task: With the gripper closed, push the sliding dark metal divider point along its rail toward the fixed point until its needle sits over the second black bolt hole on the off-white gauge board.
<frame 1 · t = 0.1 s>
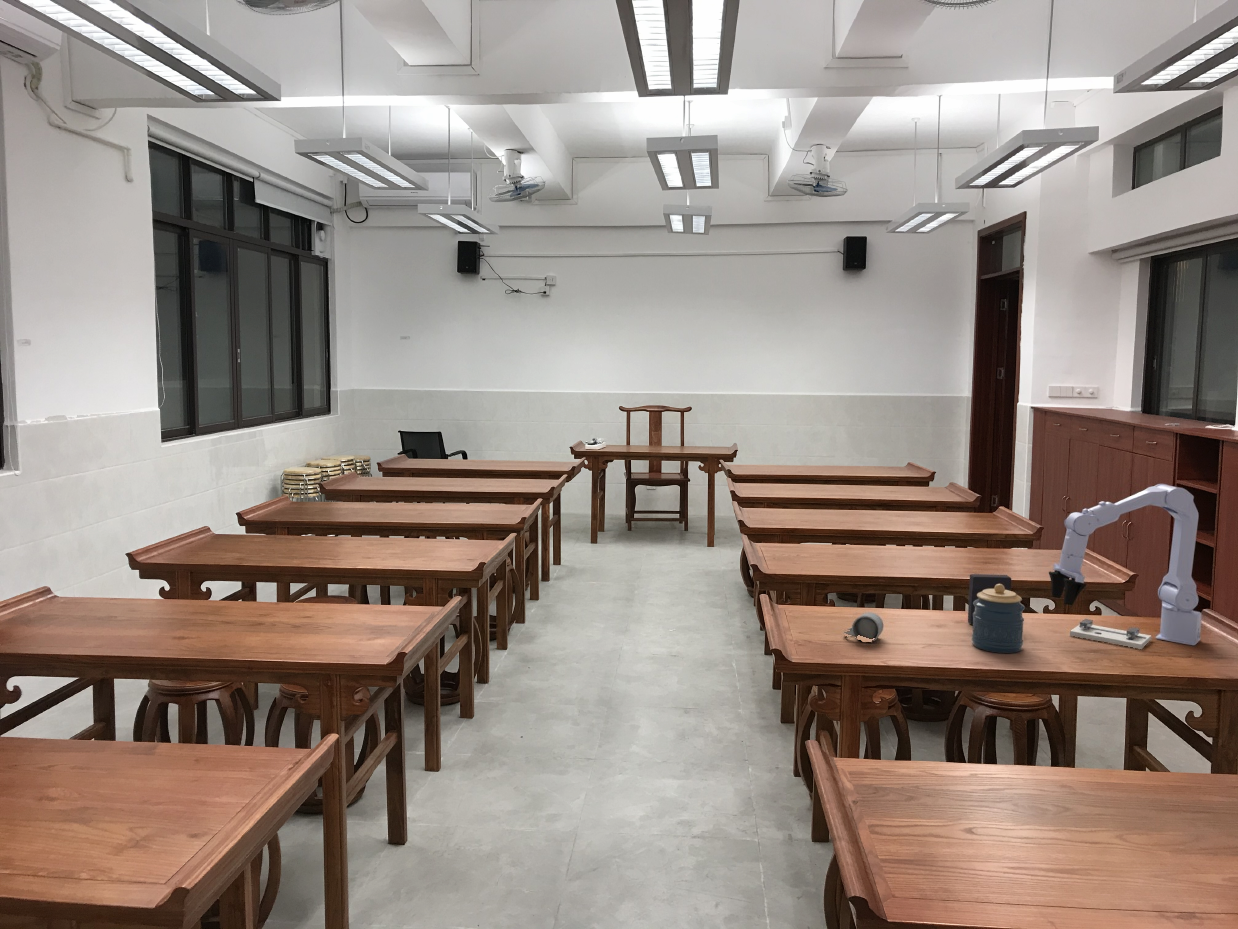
hand: (1061, 600, 249), 10 cm above the table, tool pointing down, fingers open, 7 cm apart
canister: (996, 647, 241), on the table
gauge board: (1110, 638, 249), on the table
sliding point: (1085, 624, 253), point 3 cm above the table, slide at 4.0 cm
ceramic mug: (863, 639, 248), on the table
fixed point: (1132, 642, 245), resting on gauge board
calculator: (987, 625, 262), on the table
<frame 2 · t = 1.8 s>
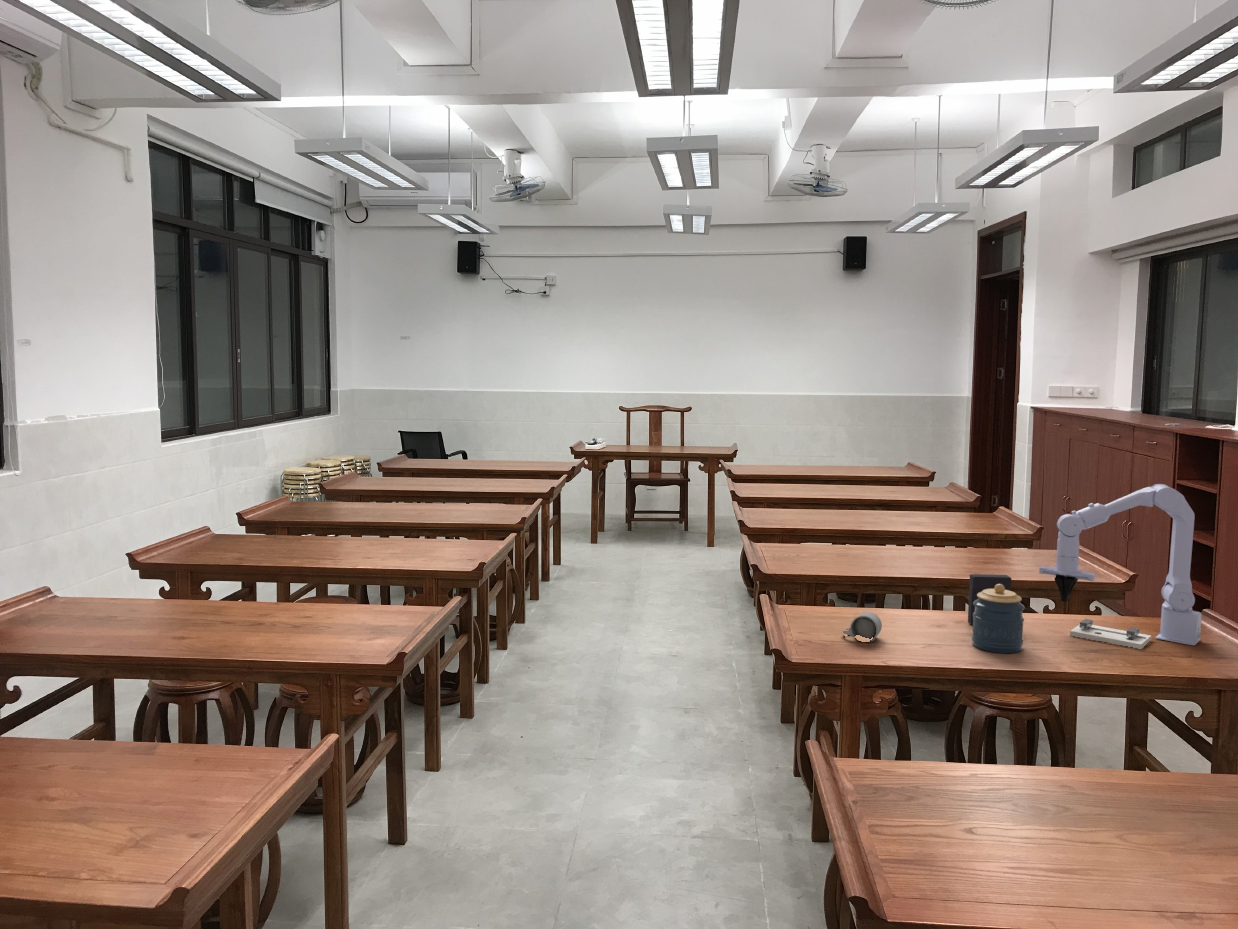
hand: (1065, 601, 257), 8 cm above the table, tool pointing down, fingers closed
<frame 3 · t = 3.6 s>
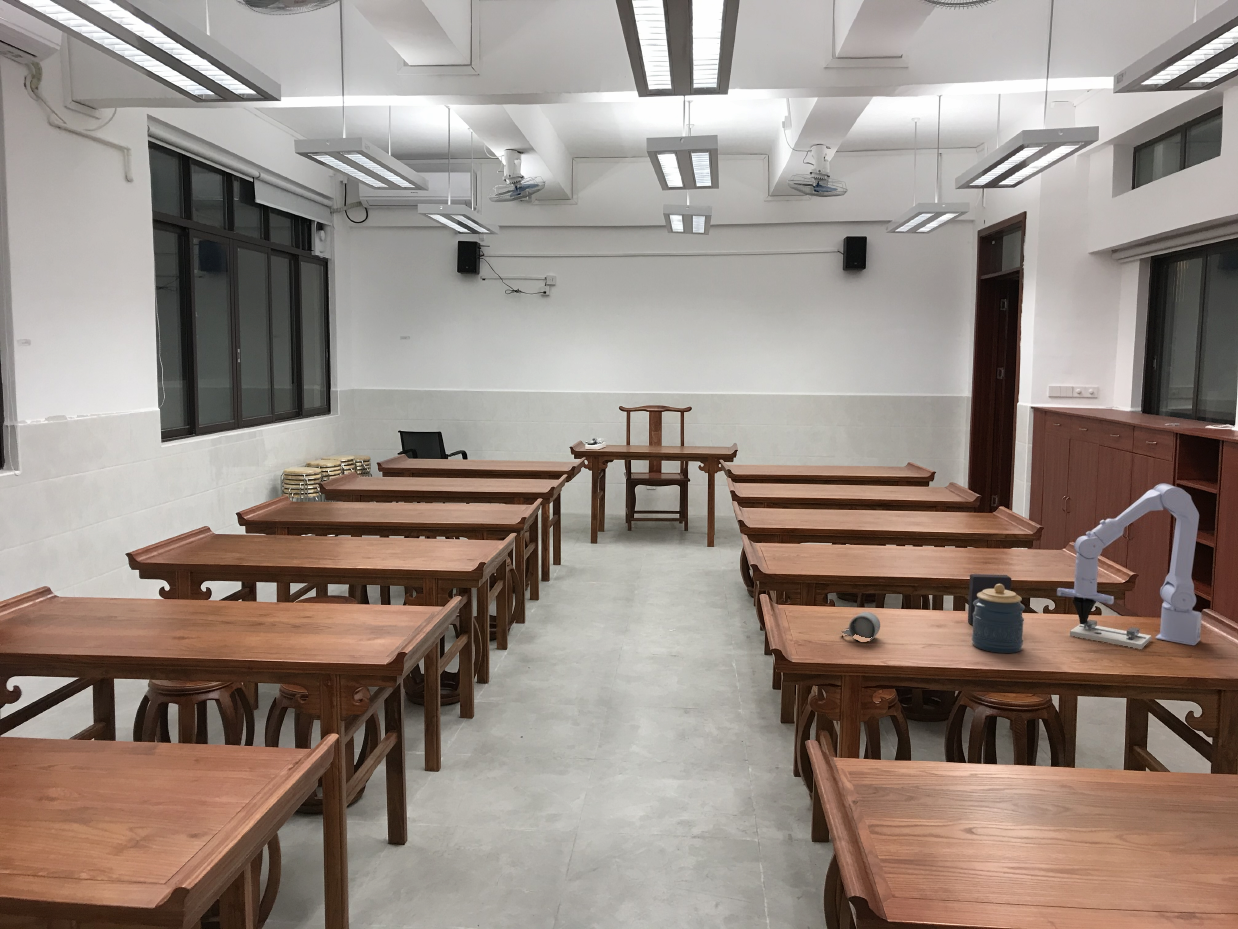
hand: (1083, 623, 254), 3 cm above the table, tool pointing down, fingers closed
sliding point: (1090, 625, 252), point 3 cm above the table, slide at 2.9 cm, touching gripper
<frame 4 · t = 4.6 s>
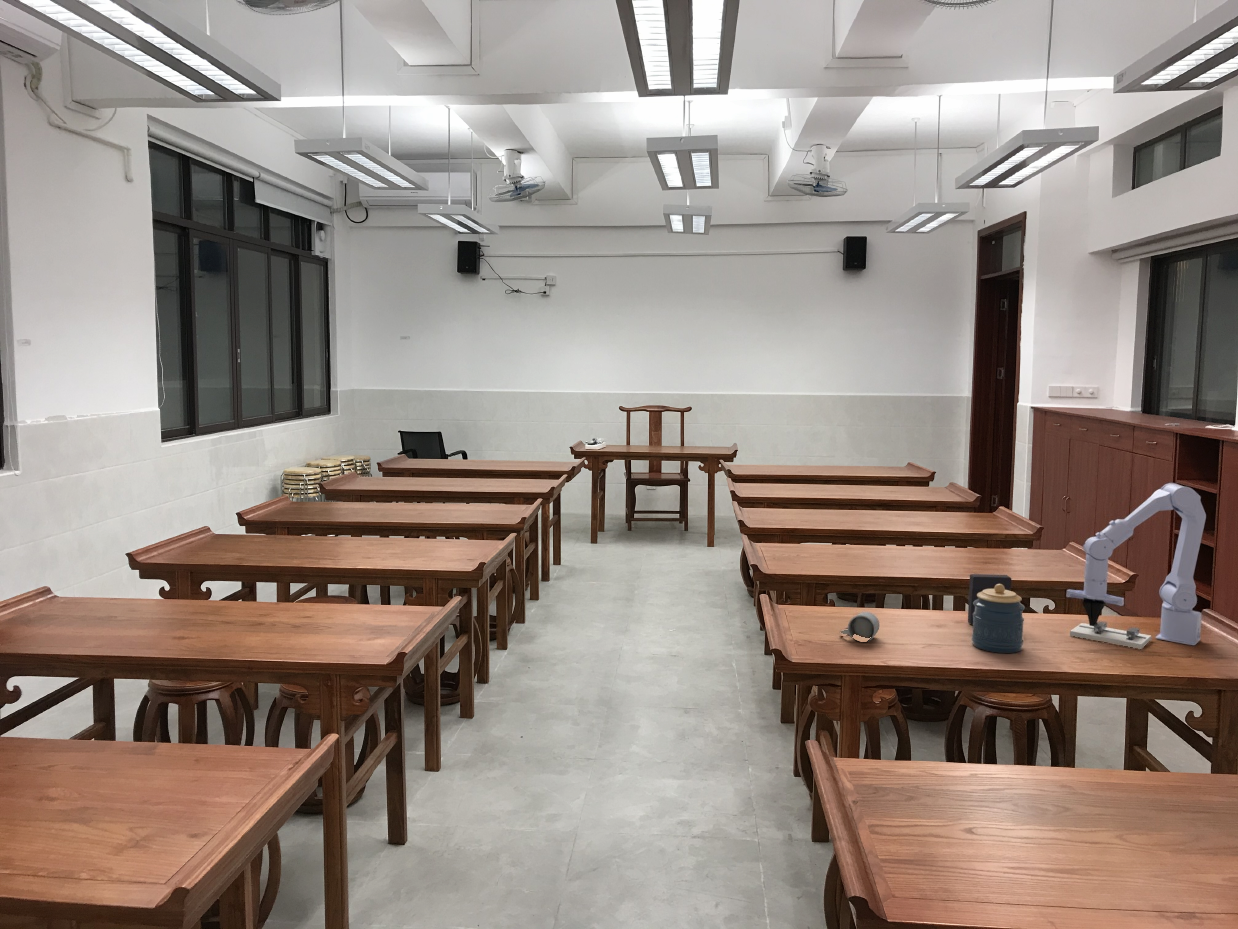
hand: (1092, 625, 252), 3 cm above the table, tool pointing down, fingers closed
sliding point: (1099, 626, 250), point 3 cm above the table, slide at 0.3 cm, touching gripper
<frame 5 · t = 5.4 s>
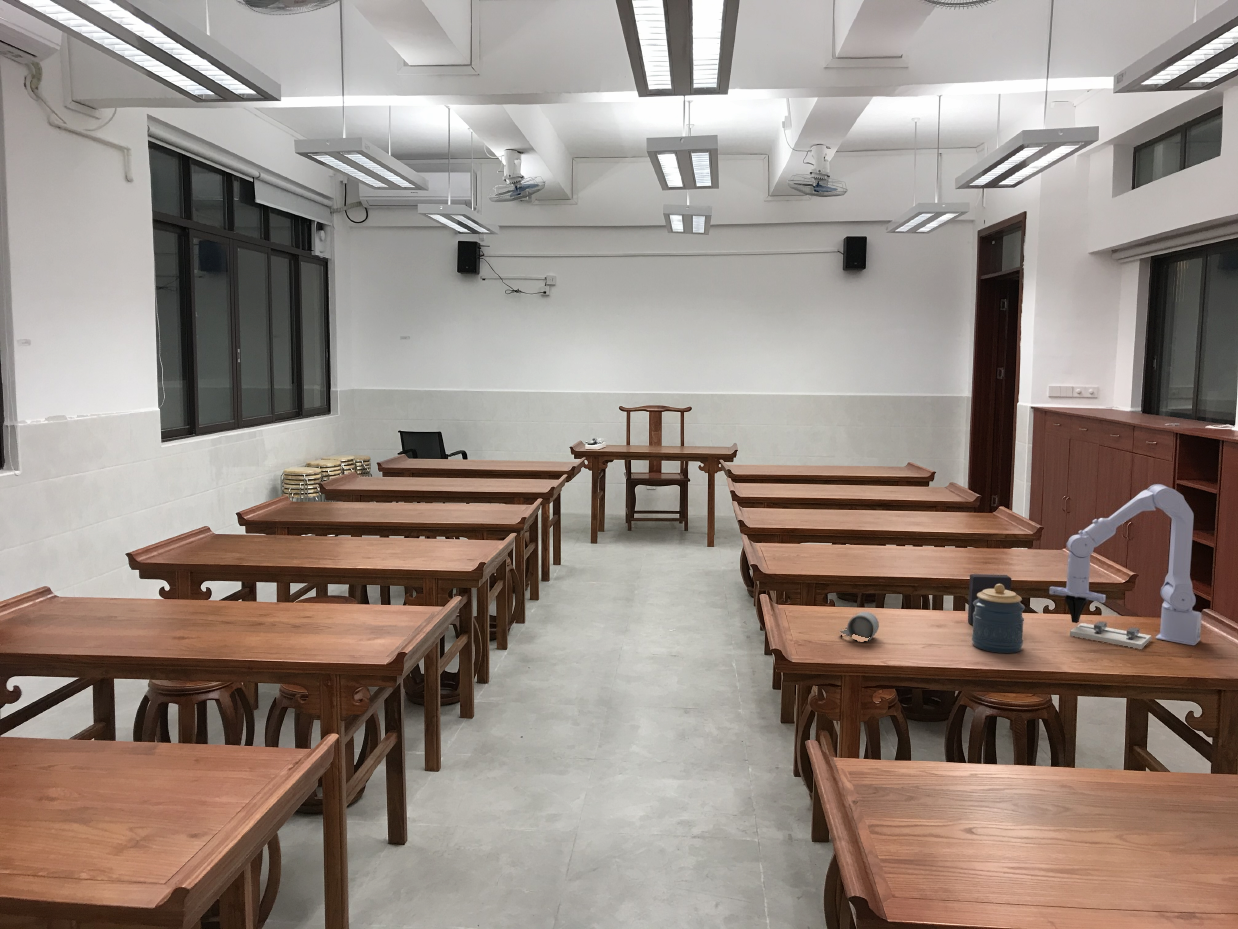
hand: (1075, 622, 255), 3 cm above the table, tool pointing down, fingers closed
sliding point: (1099, 626, 250), point 3 cm above the table, slide at 0.3 cm
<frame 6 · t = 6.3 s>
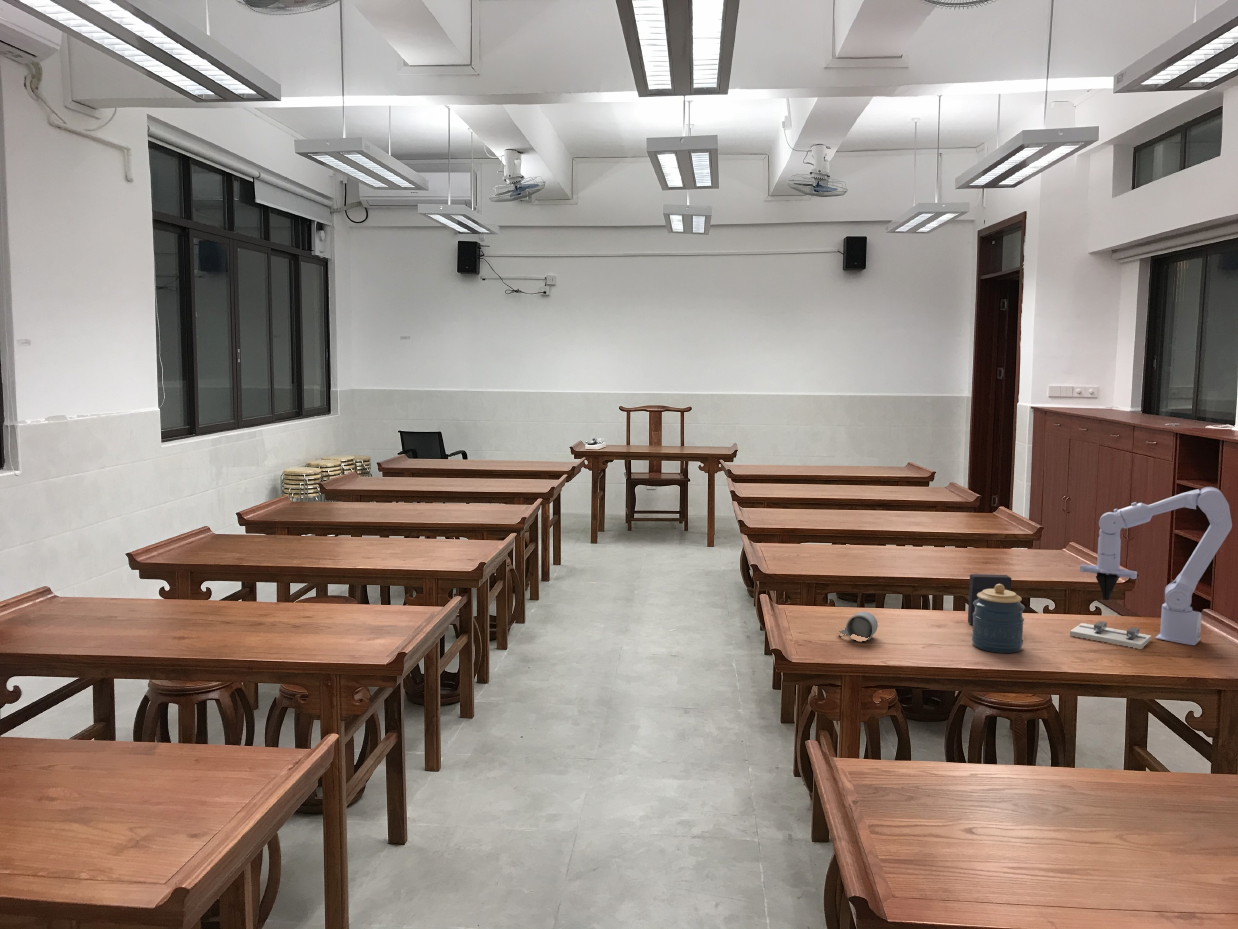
hand: (1106, 599, 256), 9 cm above the table, tool pointing down, fingers closed
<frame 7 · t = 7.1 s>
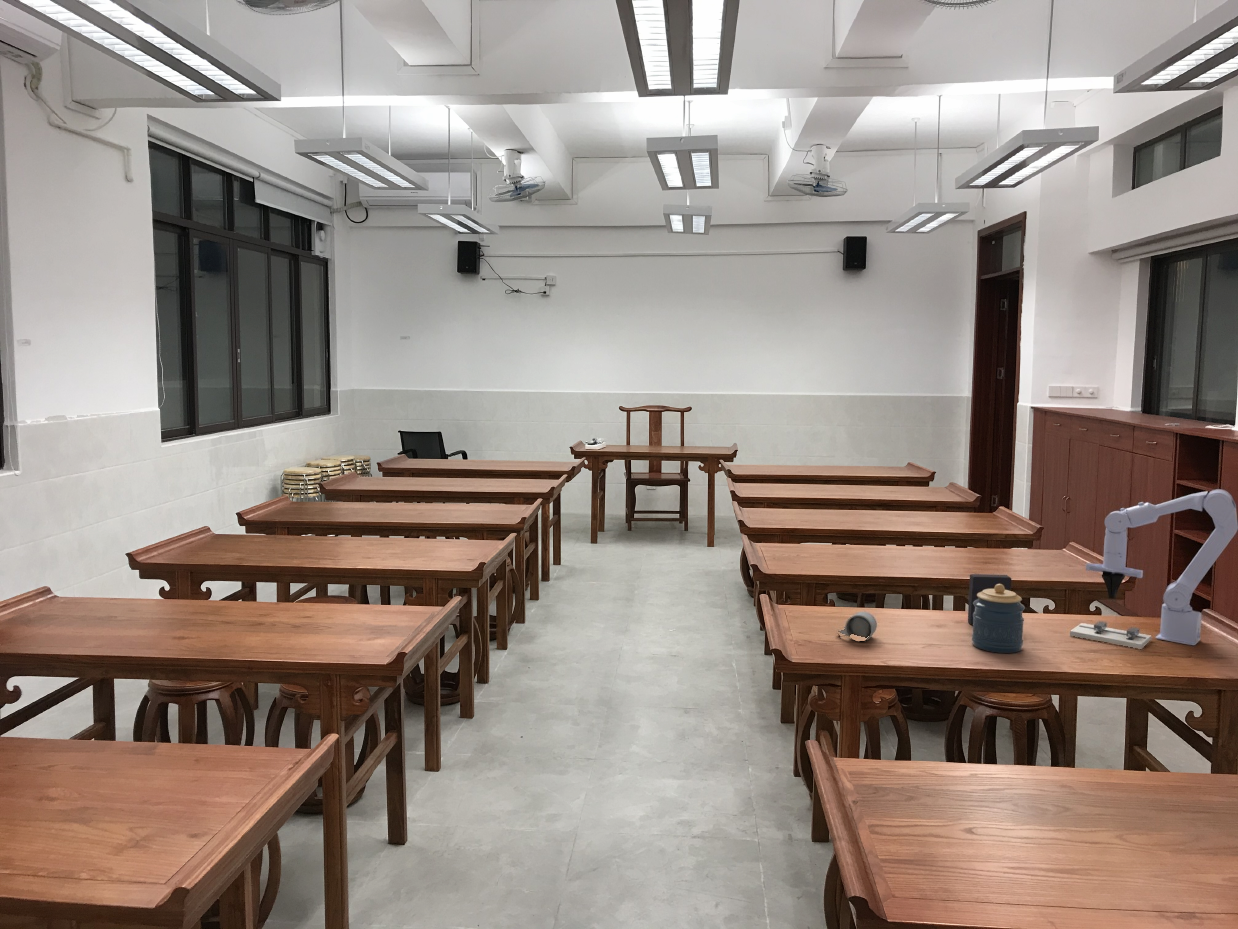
hand: (1112, 598, 257), 9 cm above the table, tool pointing down, fingers closed
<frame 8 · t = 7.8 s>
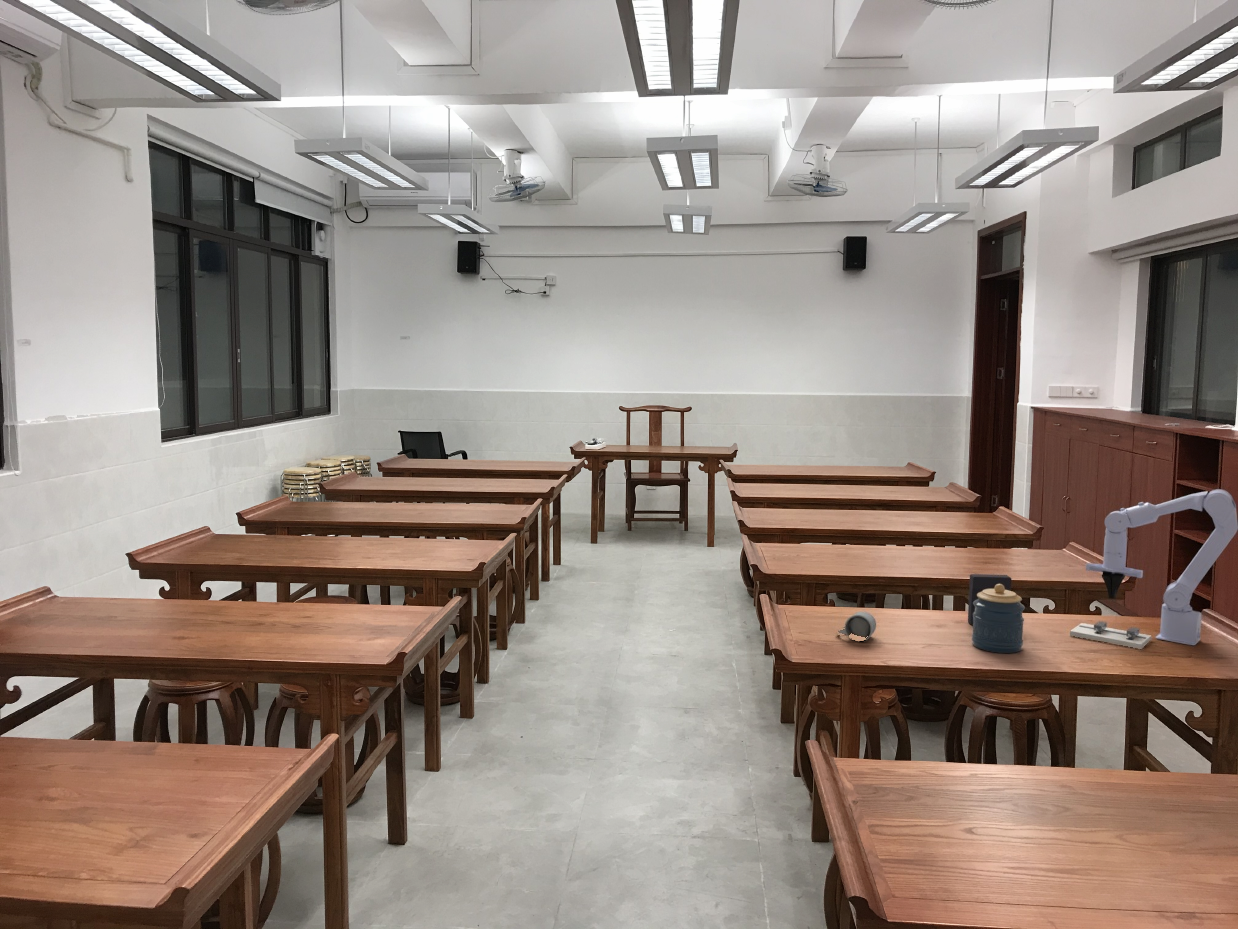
hand: (1112, 598, 257), 9 cm above the table, tool pointing down, fingers closed
at the end: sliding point slide at 0.3 cm; calculator moved 0.2 cm from its start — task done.
